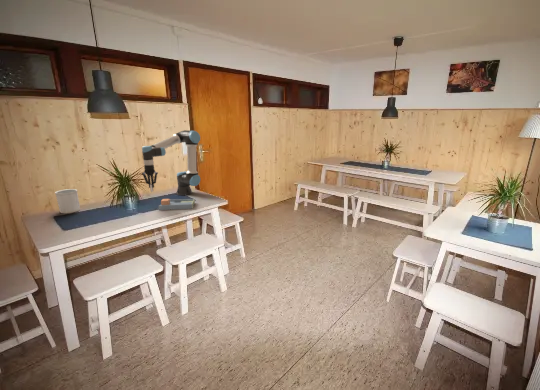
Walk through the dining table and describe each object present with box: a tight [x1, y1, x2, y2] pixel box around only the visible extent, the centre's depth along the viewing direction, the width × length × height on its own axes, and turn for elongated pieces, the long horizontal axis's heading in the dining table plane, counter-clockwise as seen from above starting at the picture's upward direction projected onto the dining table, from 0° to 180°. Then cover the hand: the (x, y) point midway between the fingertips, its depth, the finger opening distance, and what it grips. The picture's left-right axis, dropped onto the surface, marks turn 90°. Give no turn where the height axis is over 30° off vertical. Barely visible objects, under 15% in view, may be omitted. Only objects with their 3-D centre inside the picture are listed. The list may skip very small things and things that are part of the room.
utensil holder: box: [54, 188, 81, 214], centre depth 219 cm, size 15×15×18 cm
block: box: [160, 198, 171, 205], centre depth 231 cm, size 6×6×4 cm
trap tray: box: [158, 198, 196, 211], centre depth 233 cm, size 16×28×4 cm, turn 97°
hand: (152, 191), depth 227 cm, fingers closed
